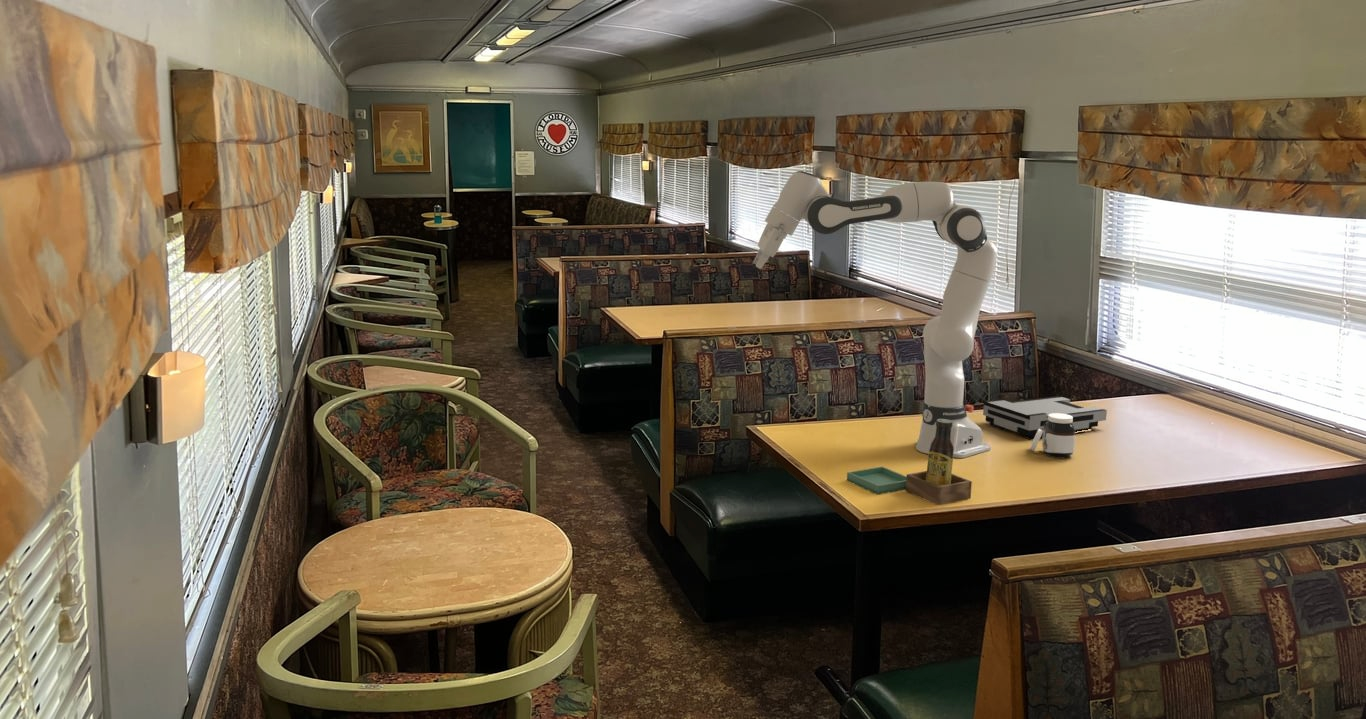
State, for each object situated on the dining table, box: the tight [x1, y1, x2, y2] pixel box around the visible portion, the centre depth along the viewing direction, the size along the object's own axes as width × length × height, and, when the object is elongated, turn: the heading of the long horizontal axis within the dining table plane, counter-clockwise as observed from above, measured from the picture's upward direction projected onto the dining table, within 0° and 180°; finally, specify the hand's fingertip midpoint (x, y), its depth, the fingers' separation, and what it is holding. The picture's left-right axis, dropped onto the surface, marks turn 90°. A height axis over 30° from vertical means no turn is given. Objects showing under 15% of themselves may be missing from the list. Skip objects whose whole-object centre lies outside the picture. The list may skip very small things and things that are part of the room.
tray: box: [846, 466, 907, 495], centre depth 285 cm, size 12×13×2 cm
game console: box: [982, 395, 1108, 440], centre depth 344 cm, size 21×32×8 cm, turn 116°
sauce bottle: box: [926, 419, 954, 486], centre depth 275 cm, size 7×6×20 cm
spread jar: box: [1029, 413, 1076, 458], centre depth 315 cm, size 12×11×12 cm
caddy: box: [905, 470, 973, 506], centre depth 277 cm, size 11×12×4 cm
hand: (756, 265), depth 306 cm, fingers open, 8 cm apart
